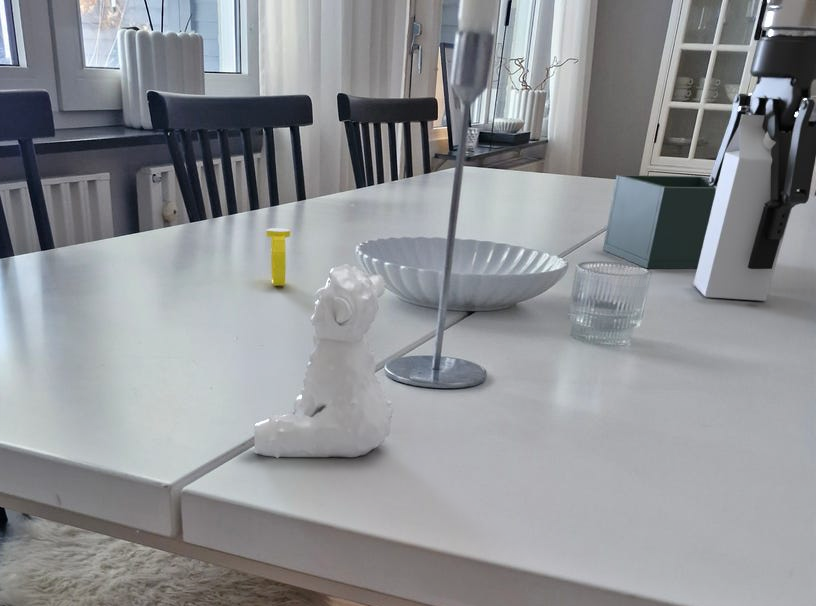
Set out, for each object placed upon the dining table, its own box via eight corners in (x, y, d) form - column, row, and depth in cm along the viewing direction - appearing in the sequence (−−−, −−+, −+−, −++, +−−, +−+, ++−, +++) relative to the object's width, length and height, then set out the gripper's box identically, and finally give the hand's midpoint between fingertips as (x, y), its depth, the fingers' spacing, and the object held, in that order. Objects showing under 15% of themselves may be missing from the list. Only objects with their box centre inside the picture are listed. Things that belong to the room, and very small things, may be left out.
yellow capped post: (291, 290, 103) (291, 234, 100) (267, 290, 103) (267, 233, 100) (288, 279, 108) (288, 225, 105) (265, 278, 108) (264, 225, 105)
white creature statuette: (303, 413, 68) (306, 243, 62) (410, 432, 66) (426, 257, 59) (246, 454, 61) (243, 267, 54) (364, 478, 58) (376, 284, 52)
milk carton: (692, 286, 114) (734, 112, 103) (750, 289, 113) (798, 115, 103) (704, 298, 108) (749, 116, 97) (765, 302, 107) (817, 119, 97)
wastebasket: (735, 268, 125) (757, 188, 119) (647, 268, 122) (664, 187, 117) (684, 250, 136) (702, 176, 130) (602, 250, 133) (616, 174, 128)
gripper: (710, 34, 104) (664, 244, 116) (831, 32, 86) (761, 279, 99) (767, 37, 105) (715, 244, 118) (897, 36, 88) (821, 279, 100)
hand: (736, 260), depth 108 cm, fingers closed on milk carton, 9 cm apart
